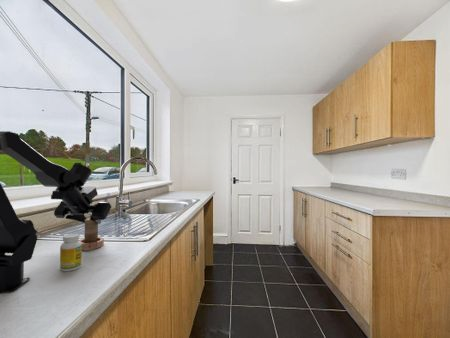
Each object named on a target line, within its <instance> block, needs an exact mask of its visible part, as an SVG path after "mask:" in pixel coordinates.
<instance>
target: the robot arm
mask: <svg viewBox="0 0 450 338" xmlns="http://www.w3.org/2000/svg"><path fill="white" fill-rule="evenodd" d="M0 151H2V152H3V153H4V154H6V155H8V156H9V157H11V158H12V159H13V160H15V161H16V162H18V163H19V164H21V165H22V166H24V167H25V168H26V169H28V170H30V171H31V172H32V173H33V174H34V177H35V179H36V180H37V182H39V183H40V184H41V185H42V186H44V187H48V188H56V189H54V190H52V194H51V195H50V199H51V200H61V201H60V203H59V204H58V205H57V206H56V208H55V210H54V211H53V214H54V216H55V218H56V219H64V218H65V220H71V221H74V222H78V223H83V224H85V219H89V218H90V219H89V220H91V221H93V222H95V223H98V225H100V224H101V223H102V221H103V220H105V219H107V217H108V214H109V213H110V210H111V209H112V205H111V202H109V201H108V202H107V201H98V202H97V203H95V204H94V205H92V204H93V202H94V200H93V199H95V197H97V196H98V195H99V194H98V190H97V187H96V186H85V184H86V182H87V181H88V179H90V177H91V175H92V173H93V171H92V169H91V168H90V167H88V166H86V165H83V164H82V163H81V162H74V164H73V165H72V167H71V168H70V169H68V168H66V167H64V166H63V165H60V164H57V163H54V162H52V161H50V160H48V159H47V158H46V157H44V156H43V155H42V154H41V153H39V152H38V151H37V150H35V149H34V148H33V147H32V146H30V145H29V144H28V143H27V142H25V140H23V139H21V137H20V135H19V134H17V133H16V132H14V131H10V130H9V131H5V130H4V131H3V130H2V131H1V130H0ZM88 214H92V216H91V217H90V216H89V218H87V217H86V216H85V215H88ZM34 225H35V224H34V222H33V221H32V220H30V219H21V218H19V217H18V214H17V213H16V211H15V209H14V207H13V206H12V203H11V201H10V199H9V197H8V195H7V193H6V191H5V189H4V187H3V185H2V183H1V182H0V293H12V292H14V291H16V290H17V289H19V288H20V287H22V286H23V285H24V284H26V283H27V282H29V281H30V280H31V278H30V277H25V276H24V274H25V273H24V267H25V266H24V265H25V264H24V263H25V262H27V261H30V260H32V257H33V255H34V251H35V248H36V244H37V241H38V237H37V236H38V235H37V233H38V231H37V230H36V228H35V226H34ZM10 254H11V255H10Z"/></svg>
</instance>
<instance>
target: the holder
mask: <svg viewBox="0 0 450 338" xmlns="http://www.w3.org/2000/svg"><path fill="white" fill-rule="evenodd" d="M78 241H80V242H81V243H82V251H89V250H95V249H99V248H101V247H103V246H105V244H104V243H105V238H104V237H100V236H98V241H96V242H92V243H84V238H81V239H79V240H78Z"/></svg>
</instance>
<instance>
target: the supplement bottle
mask: <svg viewBox="0 0 450 338" xmlns="http://www.w3.org/2000/svg"><path fill="white" fill-rule="evenodd" d="M79 240H80V234H78V233H68V234H65V235H64V236H62V241H63V243H61V244H60V248H59V256H60V257H59V269H60V271H61V272H71V271H76V270H78V269H79V268H81V267H82V260H83V259H82V256H83V255H82V251H83V250H82V243H81V242H80V241H79Z"/></svg>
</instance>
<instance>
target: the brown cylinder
mask: <svg viewBox="0 0 450 338" xmlns="http://www.w3.org/2000/svg"><path fill="white" fill-rule="evenodd" d="M89 215H90V216H89V218H87V219H85V223H84V238H83V239H84V243H92V242H96V241H98V237H99V224H98V223H95V222H93V221H91V220H89V219H90V217H91V216H92V214H91V213H89Z"/></svg>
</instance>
